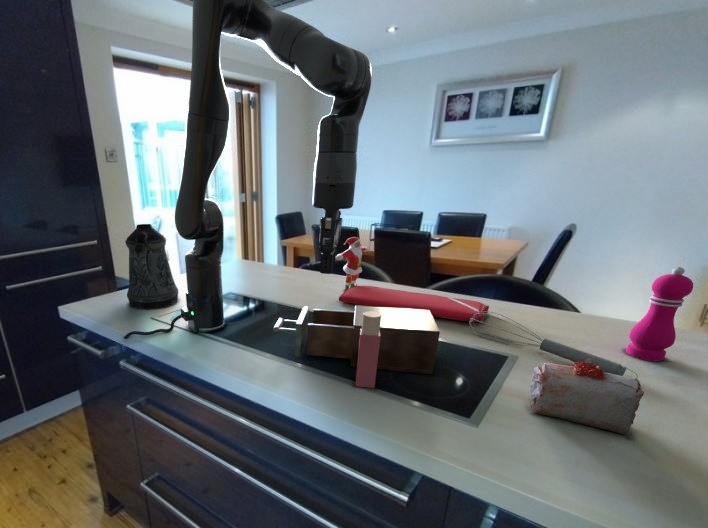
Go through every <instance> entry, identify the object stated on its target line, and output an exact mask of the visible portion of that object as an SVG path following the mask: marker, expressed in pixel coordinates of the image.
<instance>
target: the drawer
mask: <svg viewBox="0 0 708 528" xmlns="http://www.w3.org/2000/svg"><path fill="white" fill-rule="evenodd" d="M309 310H310V308H309V306H303V308H302V310H301V312H300V313H299V316H298V319H297V320H293V319H284V318H283V317H279V318H278V320H277V321H276V323H275V324H274V326H273V327H272V328H273V329H272V331H273V332H274V333H276V334H277V333H279V332H287V333H295V340H294V341H295V342H294V343H295V345H294V346H295V347H294V357H299V358H301V356H302V353H303V350H304V347H305V345H306V356H316V357H325V358H326V357H327V358H336V359H348V360H351V352H352V341H353V329H354V315H355V311H353V310H352V311H351V310H337V309H336V310H335V309H320V308H313V309H312V322H311V323H310V322H309V312H310V311H309ZM283 324H295V328H289V327H288V328H287V327H282V326H283Z"/></svg>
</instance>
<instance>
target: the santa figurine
mask: <svg viewBox="0 0 708 528" xmlns="http://www.w3.org/2000/svg"><path fill="white" fill-rule="evenodd" d="M347 244H349V247H348V249H346V250H345V251H343V252H341V253H338V254H336V258H335V260H337V261H341V260H343V259H346V261H347V262H346V263H345V264H344V265H343V268H342V270H343V272H345V274H346V277H345V281H344V290H343V292H345V291H347V290H348V289H350V288H353V287H355V286H358V284H356V282H357V279H358V278H359V276H360V273H362V272H363V268H362V267H361V266H362V259H363V252H364V253H366V252H368V251H370V248H369V247H368V246H364V245H363V246H362V244H361V239H360V238H359V237H358V236H357V237H356V236H351V237H349V238H347V239H346V241H345V242H344V243H343V245H344V246H346V245H347Z"/></svg>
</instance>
